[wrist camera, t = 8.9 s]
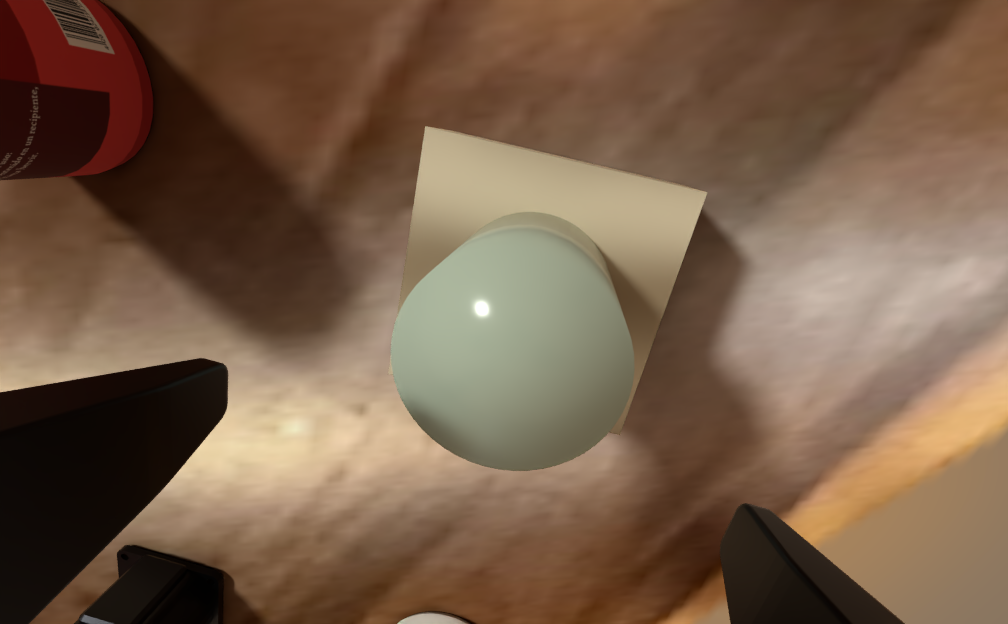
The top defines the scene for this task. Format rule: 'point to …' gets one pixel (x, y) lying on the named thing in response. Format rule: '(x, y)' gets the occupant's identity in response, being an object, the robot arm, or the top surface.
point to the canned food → (69, 90)
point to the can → (433, 618)
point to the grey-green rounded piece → (515, 346)
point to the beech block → (563, 193)
